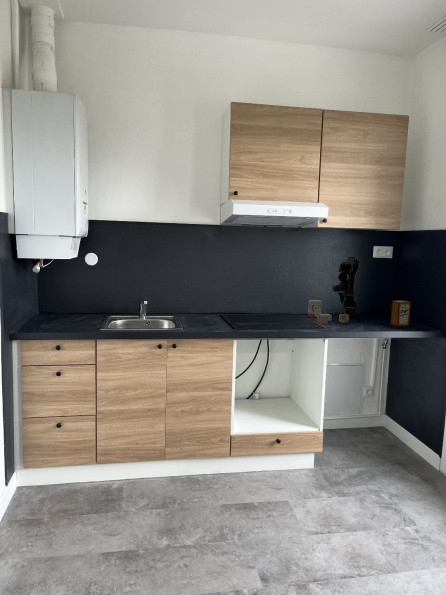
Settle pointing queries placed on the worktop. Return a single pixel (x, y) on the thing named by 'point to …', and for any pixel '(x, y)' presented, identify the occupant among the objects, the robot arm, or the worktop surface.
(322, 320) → the terracotta cube
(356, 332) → the worktop surface
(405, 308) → the baking soda box
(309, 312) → the ink box
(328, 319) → the sage block
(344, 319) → the maple cube
